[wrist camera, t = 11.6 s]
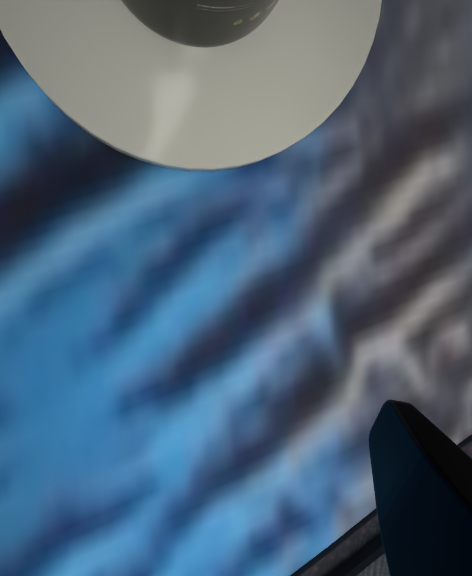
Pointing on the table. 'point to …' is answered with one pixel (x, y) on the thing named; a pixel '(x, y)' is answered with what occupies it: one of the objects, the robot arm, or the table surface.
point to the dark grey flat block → (358, 548)
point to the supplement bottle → (201, 19)
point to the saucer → (192, 77)
